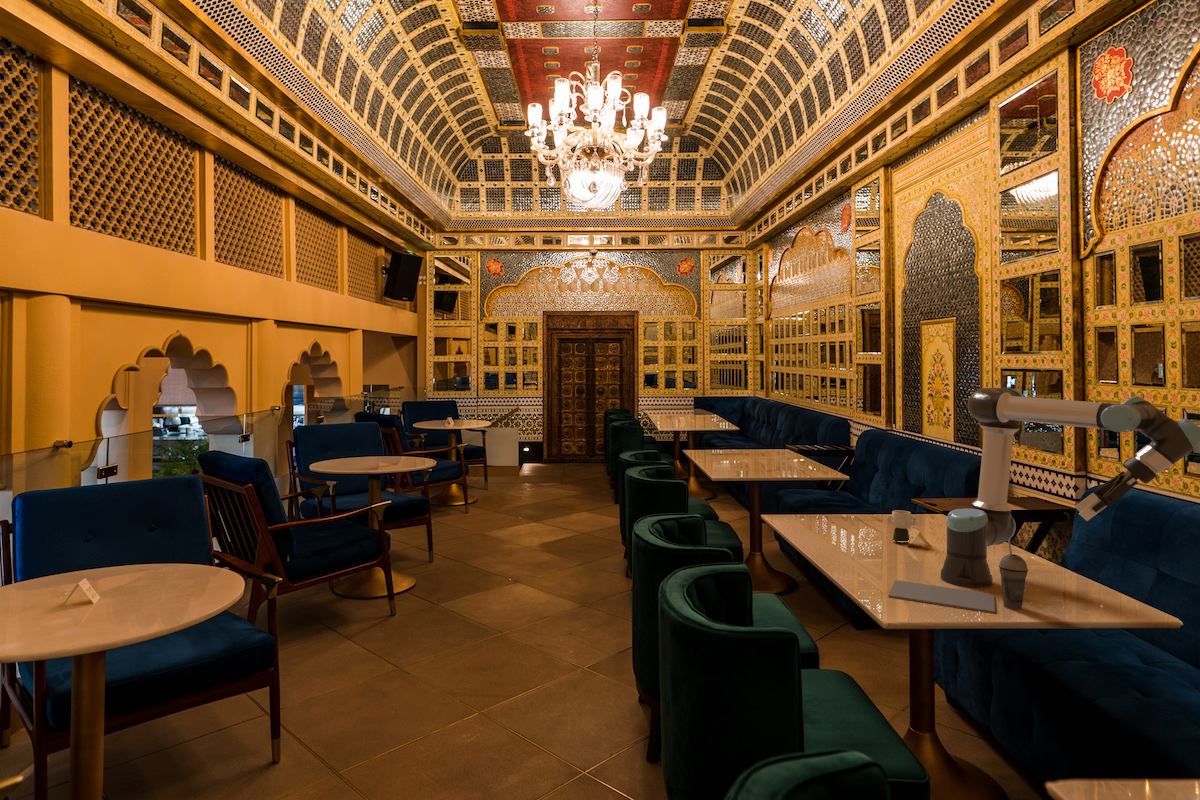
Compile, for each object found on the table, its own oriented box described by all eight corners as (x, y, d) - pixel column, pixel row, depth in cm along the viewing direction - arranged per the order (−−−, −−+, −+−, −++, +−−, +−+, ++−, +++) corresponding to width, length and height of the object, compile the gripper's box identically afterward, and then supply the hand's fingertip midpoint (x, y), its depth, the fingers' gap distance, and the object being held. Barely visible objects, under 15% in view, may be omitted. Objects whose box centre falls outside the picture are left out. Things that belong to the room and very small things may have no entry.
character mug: (914, 542, 268) (915, 511, 268) (916, 546, 262) (916, 514, 262) (886, 539, 272) (886, 509, 272) (887, 543, 266) (887, 512, 266)
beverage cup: (1025, 613, 184) (1026, 543, 184) (995, 607, 189) (997, 539, 188) (1029, 606, 189) (1030, 539, 189) (1000, 601, 194) (1001, 535, 194)
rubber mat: (888, 597, 198) (888, 595, 198) (894, 581, 213) (894, 580, 213) (995, 613, 184) (995, 611, 184) (993, 596, 199) (993, 594, 199)
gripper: (1167, 479, 169) (1096, 531, 177) (1149, 470, 190) (1087, 516, 198) (1141, 458, 172) (1072, 510, 180) (1126, 452, 193) (1065, 498, 201)
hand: (1080, 513), depth 189 cm, fingers open, 13 cm apart
